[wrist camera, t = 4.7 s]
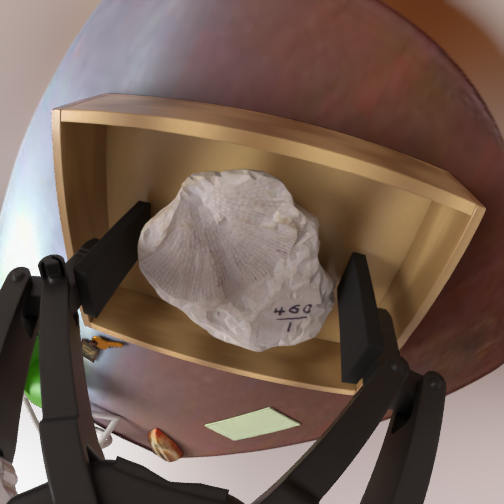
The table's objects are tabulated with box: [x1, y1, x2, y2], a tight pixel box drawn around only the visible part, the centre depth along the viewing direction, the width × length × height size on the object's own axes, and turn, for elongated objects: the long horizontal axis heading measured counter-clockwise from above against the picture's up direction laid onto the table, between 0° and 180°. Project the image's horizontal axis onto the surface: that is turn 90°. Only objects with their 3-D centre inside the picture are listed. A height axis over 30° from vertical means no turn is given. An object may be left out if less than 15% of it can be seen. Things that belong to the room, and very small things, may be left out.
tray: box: [52, 94, 486, 395], centre depth 16 cm, size 19×14×4 cm
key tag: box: [81, 336, 123, 363], centre depth 28 cm, size 8×3×1 cm, turn 131°
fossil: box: [137, 169, 336, 352], centre depth 16 cm, size 9×6×10 cm
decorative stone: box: [148, 428, 183, 462], centre depth 42 cm, size 14×6×2 cm, turn 3°
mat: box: [205, 407, 300, 440], centre depth 32 cm, size 11×5×1 cm, turn 135°
